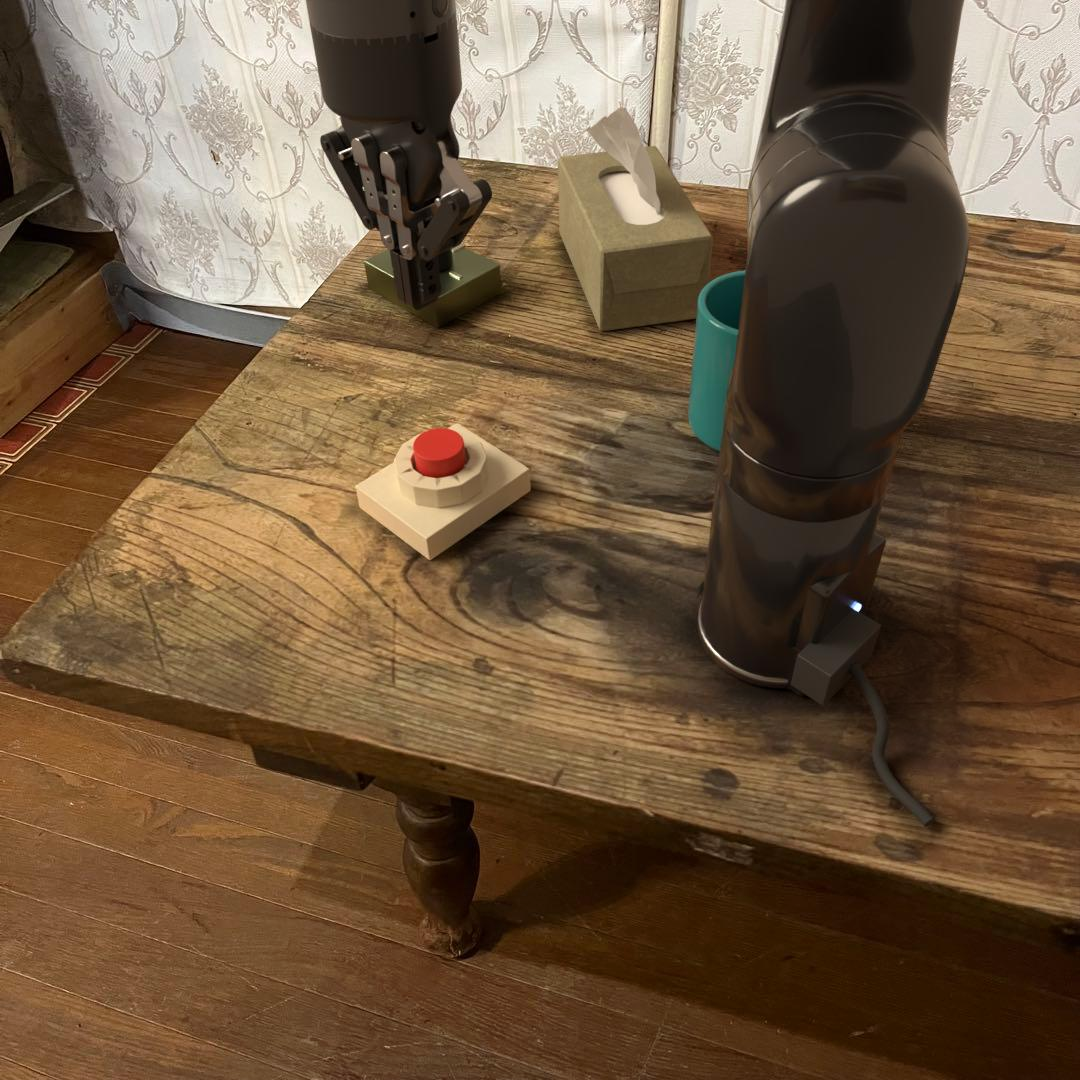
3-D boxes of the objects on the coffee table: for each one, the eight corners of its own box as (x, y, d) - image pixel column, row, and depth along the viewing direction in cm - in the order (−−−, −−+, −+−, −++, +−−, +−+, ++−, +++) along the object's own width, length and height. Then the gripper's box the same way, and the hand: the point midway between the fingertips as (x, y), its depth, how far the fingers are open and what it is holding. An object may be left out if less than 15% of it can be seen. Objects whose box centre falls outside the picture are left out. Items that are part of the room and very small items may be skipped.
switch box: (531, 490, 77) (529, 449, 74) (429, 561, 72) (423, 520, 70) (459, 444, 81) (455, 403, 79) (359, 507, 77) (350, 466, 74)
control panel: (502, 292, 97) (500, 262, 95) (436, 329, 93) (433, 298, 91) (432, 256, 102) (429, 226, 100) (367, 289, 98) (362, 259, 96)
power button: (476, 461, 74) (474, 442, 73) (438, 486, 73) (435, 467, 71) (443, 439, 76) (440, 421, 75) (405, 463, 74) (402, 444, 73)
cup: (702, 491, 77) (715, 366, 69) (679, 393, 85) (689, 271, 77) (823, 484, 77) (851, 359, 69) (788, 387, 85) (810, 265, 77)
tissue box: (558, 232, 105) (555, 71, 93) (652, 220, 106) (659, 60, 95) (601, 334, 91) (603, 162, 80) (707, 320, 93) (723, 148, 81)
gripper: (246, -3, 54) (308, 287, 67) (408, 58, 47) (444, 369, 60) (359, -38, 58) (398, 243, 70) (525, 14, 51) (536, 316, 63)
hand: (419, 301), depth 65 cm, fingers closed
